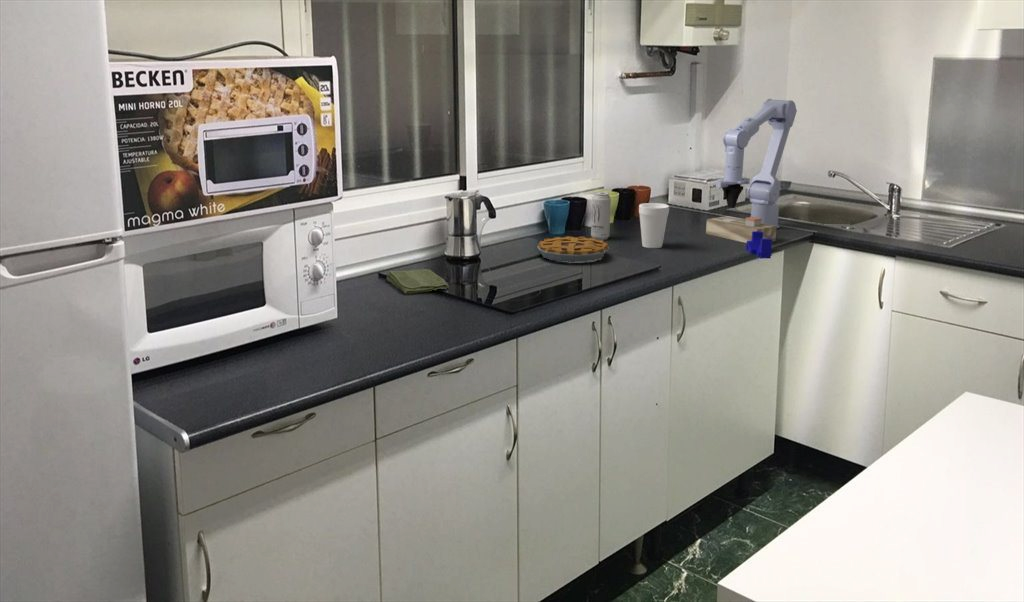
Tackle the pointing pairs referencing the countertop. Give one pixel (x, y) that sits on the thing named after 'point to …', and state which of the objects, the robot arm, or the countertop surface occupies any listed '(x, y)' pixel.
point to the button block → (738, 229)
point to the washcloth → (416, 281)
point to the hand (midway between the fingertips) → (731, 207)
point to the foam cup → (653, 223)
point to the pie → (572, 248)
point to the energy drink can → (600, 216)
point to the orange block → (753, 221)
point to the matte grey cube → (729, 220)
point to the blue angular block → (759, 245)
